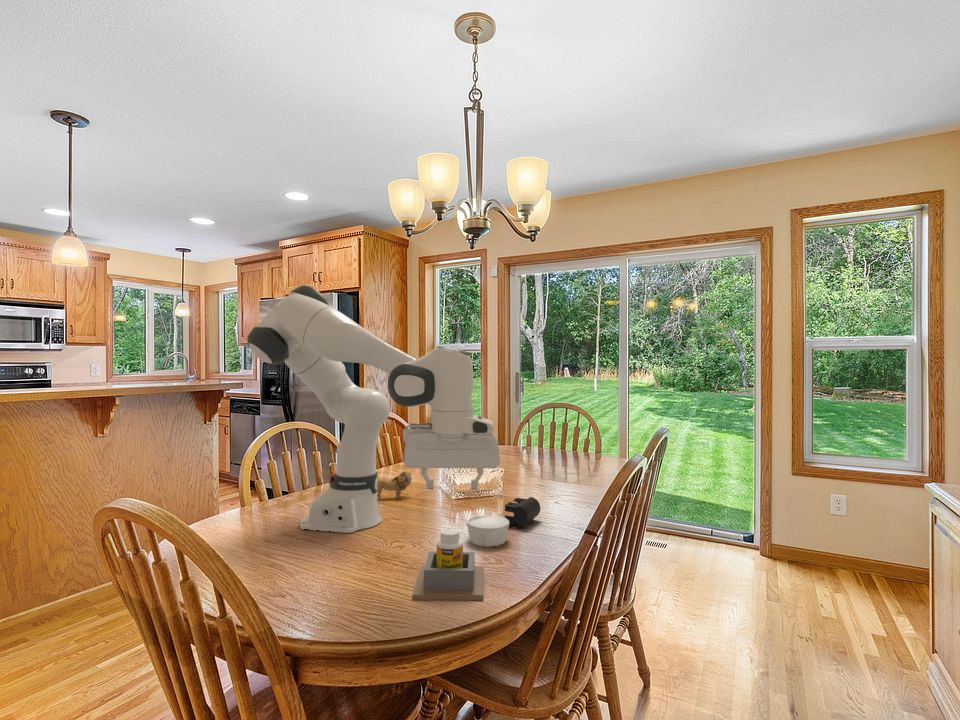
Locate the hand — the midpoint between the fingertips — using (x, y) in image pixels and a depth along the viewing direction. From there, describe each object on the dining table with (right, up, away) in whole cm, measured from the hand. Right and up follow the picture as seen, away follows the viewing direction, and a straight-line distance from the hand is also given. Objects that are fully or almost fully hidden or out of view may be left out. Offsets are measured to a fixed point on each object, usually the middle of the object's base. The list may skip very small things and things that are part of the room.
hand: (452, 488), depth 109 cm
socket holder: (0, -20, 0) cm, 20 cm away
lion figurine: (-24, -20, +66) cm, 73 cm away
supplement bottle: (0, -19, 0) cm, 19 cm away
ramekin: (+8, -20, +26) cm, 34 cm away
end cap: (+18, -20, +40) cm, 48 cm away
